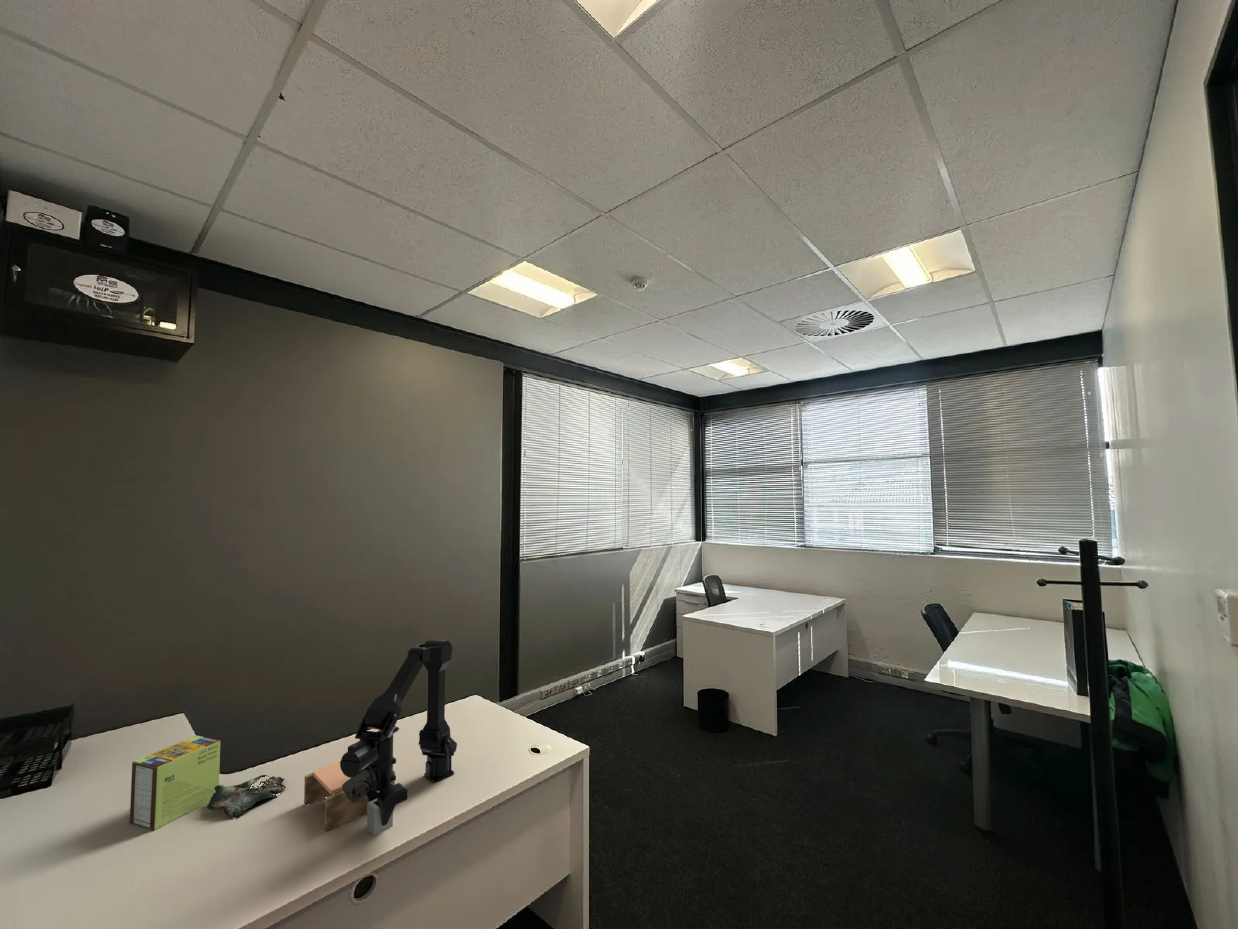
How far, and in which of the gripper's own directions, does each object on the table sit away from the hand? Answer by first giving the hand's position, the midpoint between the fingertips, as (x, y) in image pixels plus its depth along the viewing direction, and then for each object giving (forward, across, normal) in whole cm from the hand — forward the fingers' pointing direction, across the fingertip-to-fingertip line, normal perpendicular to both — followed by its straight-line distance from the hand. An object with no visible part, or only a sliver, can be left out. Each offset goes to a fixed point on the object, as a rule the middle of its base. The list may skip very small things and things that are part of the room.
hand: (379, 820), depth 127 cm
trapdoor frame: (+2, -17, -1) cm, 17 cm away
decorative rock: (+2, -41, -18) cm, 45 cm away
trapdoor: (-2, -17, 0) cm, 17 cm away
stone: (+2, 0, 0) cm, 2 cm away
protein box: (+2, -50, -33) cm, 60 cm away
